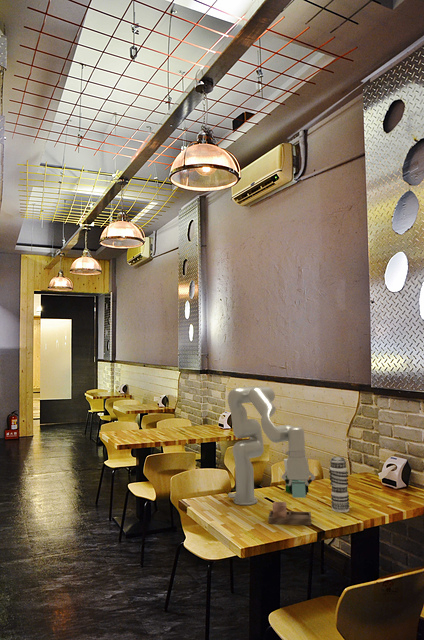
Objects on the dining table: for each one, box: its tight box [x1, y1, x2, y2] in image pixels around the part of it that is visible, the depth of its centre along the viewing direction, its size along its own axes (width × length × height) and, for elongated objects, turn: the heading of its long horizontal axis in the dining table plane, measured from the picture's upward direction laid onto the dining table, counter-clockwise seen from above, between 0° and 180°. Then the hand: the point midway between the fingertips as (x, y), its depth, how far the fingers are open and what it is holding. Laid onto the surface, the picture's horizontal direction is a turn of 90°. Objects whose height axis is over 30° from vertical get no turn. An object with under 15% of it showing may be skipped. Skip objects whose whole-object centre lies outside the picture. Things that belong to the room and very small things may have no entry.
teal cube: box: [292, 480, 307, 499], centre depth 217 cm, size 6×6×6 cm
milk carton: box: [283, 458, 303, 494], centre depth 264 cm, size 9×9×20 cm
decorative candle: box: [328, 456, 350, 513], centre depth 232 cm, size 9×9×25 cm
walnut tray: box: [268, 501, 312, 526], centre depth 217 cm, size 19×10×8 cm, turn 79°
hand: (299, 493), depth 216 cm, fingers closed on teal cube, 6 cm apart
